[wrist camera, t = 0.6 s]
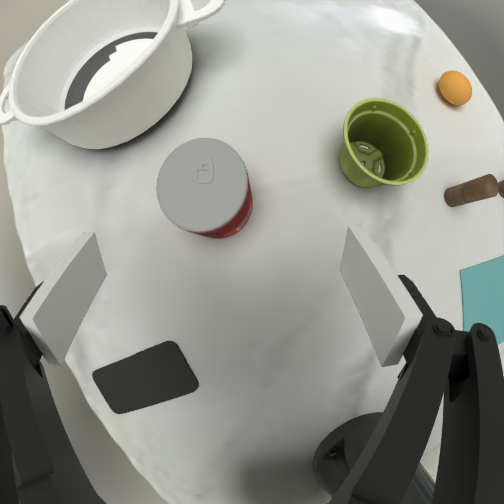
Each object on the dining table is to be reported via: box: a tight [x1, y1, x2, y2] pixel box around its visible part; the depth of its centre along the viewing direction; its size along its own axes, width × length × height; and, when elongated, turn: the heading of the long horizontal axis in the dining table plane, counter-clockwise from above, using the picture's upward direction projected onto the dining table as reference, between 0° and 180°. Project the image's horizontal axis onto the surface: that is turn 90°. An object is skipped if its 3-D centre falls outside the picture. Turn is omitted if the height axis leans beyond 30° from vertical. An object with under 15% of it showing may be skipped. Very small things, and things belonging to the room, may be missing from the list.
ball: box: [439, 71, 472, 105], centre depth 30 cm, size 6×6×6 cm
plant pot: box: [340, 98, 428, 187], centre depth 29 cm, size 9×9×9 cm
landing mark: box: [460, 256, 504, 345], centre depth 32 cm, size 14×14×1 cm
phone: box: [92, 341, 199, 414], centre depth 34 cm, size 7×1×15 cm
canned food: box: [157, 138, 252, 238], centre depth 28 cm, size 8×8×11 cm
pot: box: [0, 0, 225, 149], centre depth 28 cm, size 33×23×14 cm
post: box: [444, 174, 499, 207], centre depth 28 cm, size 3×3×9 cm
